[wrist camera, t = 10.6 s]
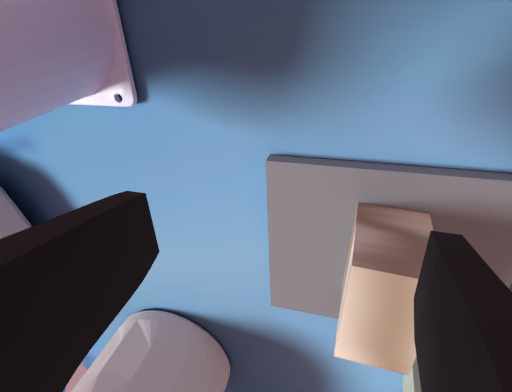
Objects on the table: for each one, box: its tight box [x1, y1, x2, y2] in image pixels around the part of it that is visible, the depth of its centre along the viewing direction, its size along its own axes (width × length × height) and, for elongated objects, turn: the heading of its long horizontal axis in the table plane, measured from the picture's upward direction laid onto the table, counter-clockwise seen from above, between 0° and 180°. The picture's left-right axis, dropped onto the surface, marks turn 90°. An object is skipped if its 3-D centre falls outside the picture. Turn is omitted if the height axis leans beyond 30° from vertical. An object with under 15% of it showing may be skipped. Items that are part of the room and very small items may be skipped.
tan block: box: [334, 203, 433, 375], centre depth 18 cm, size 4×6×5 cm, turn 0°
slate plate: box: [266, 155, 512, 319], centre depth 20 cm, size 13×11×1 cm
